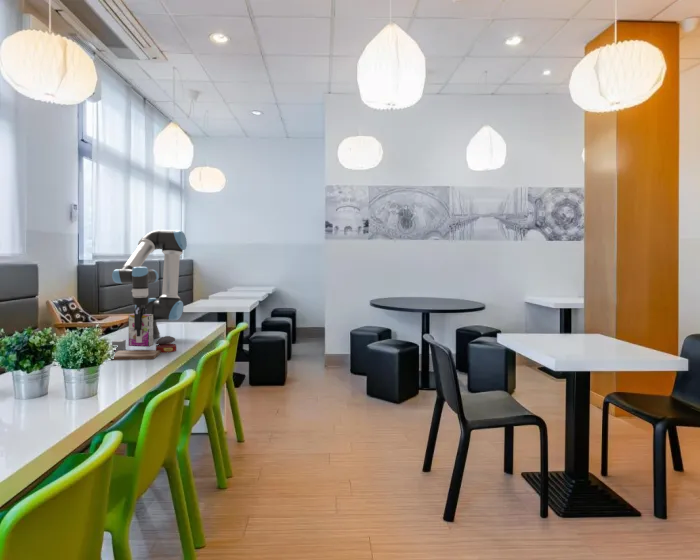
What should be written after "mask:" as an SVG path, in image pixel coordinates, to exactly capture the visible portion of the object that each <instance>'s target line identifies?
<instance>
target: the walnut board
mask: <svg viewBox="0 0 700 560" xmlns="http://www.w3.org/2000/svg"><path fill="white" fill-rule="evenodd" d="M114 353H115V356H114V359H113V360H116V361H121V360H126V361H127V360H154V359H155V358H157V357H158V356H159V355H160V354H162V353H161V350H156V349H154V350H153V349H149V350H147V349H146V350H145V349H141V350H138V349H137V350H129V349H128V350H123V351H115V352H114ZM113 360H112V361H113Z"/></svg>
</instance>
